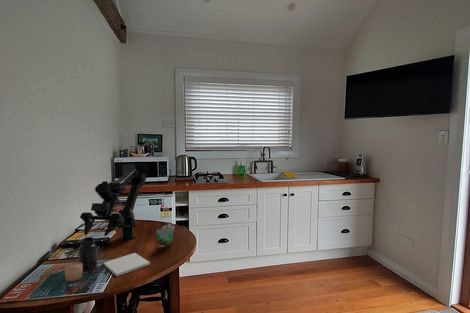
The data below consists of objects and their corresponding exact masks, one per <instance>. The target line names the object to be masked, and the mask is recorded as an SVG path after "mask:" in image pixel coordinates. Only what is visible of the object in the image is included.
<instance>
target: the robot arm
mask: <svg viewBox="0 0 470 313" xmlns="http://www.w3.org/2000/svg"><path fill="white" fill-rule="evenodd" d="M146 181H147V175H146V174H145V173H144V172H141V171H138V169H133V168H132V169H127V170H126V172H125V173H124V174H122V175H121V176H120V177H119V178H118V179H116V180H112V181H110V182H108V181H107V180H106V181H105V180H102V182H100V183H99V184H97V185H96V186H95V188H94V192H96V194H97V195H98V196H99V197H100V198H101V199H102V202H100V203H99V202H97V203H96V202H95V203H93V202H92V203H91V209H90V211H93V213H91V212H82V213H81V214H80V216H79V219H81V220H82V221H83V223H84V234H83V235H84V236H87V235H88V234H89V232H90V231H91V229H92V228H93V226H94V222H95V221H108V224H107V226H106V228H105V231H104V235H103V236H104V237H107V236H108V235H109V234H110V233H112V231H114V229H115V228H117V229H118V228H119V229H121V236H119V237H118V238H119V239H120V240H122V241H127V240H132V239H134V238H135V239H136V236H135V235H134V229H133V228H136V227H137V222H138V221H137V220H136V218H135V214H134V209H135V205H136V201H137V200H138V199H137V198H138V196H139V192H140V189H141V188H142V187H143V186H144V185H145V183H146ZM129 183H130V188H129V191H128V194H127V197H126V200H125V204H124V207H123V208H122V209H119V210H118V212H115V211H116V210H115V206H116V204H117V203H118V202H120V199H119V196H118V195H121V194H123V193H124V191H126V186H127V185H128V184H129ZM94 214H95V215H94Z"/></svg>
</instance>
